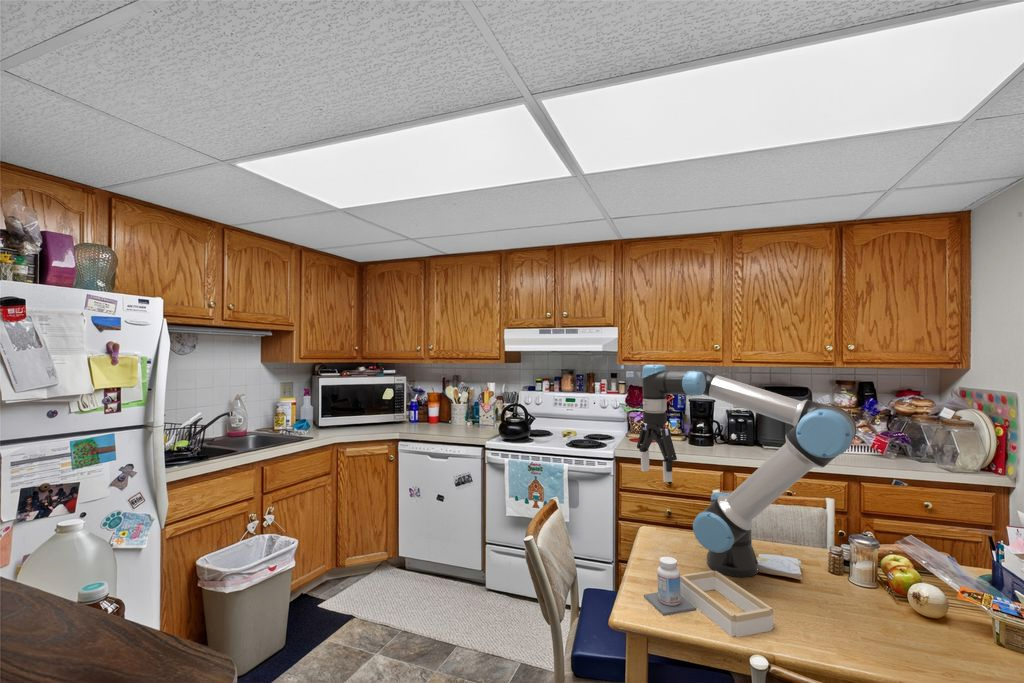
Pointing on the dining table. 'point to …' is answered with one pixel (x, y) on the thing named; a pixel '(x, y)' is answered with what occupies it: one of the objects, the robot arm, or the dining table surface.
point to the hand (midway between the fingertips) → (656, 476)
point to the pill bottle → (668, 581)
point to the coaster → (667, 609)
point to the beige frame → (739, 624)
